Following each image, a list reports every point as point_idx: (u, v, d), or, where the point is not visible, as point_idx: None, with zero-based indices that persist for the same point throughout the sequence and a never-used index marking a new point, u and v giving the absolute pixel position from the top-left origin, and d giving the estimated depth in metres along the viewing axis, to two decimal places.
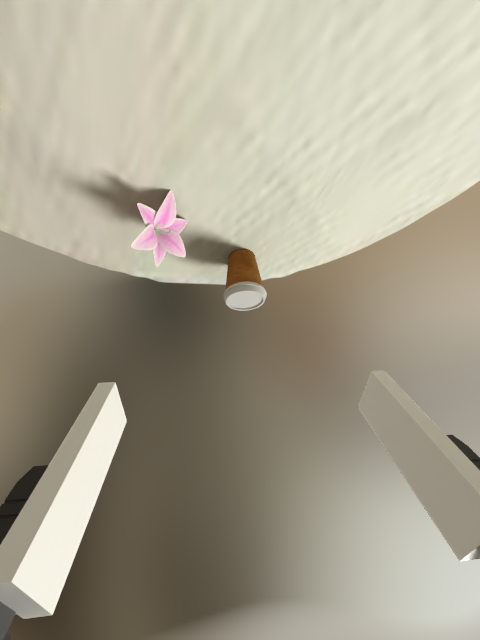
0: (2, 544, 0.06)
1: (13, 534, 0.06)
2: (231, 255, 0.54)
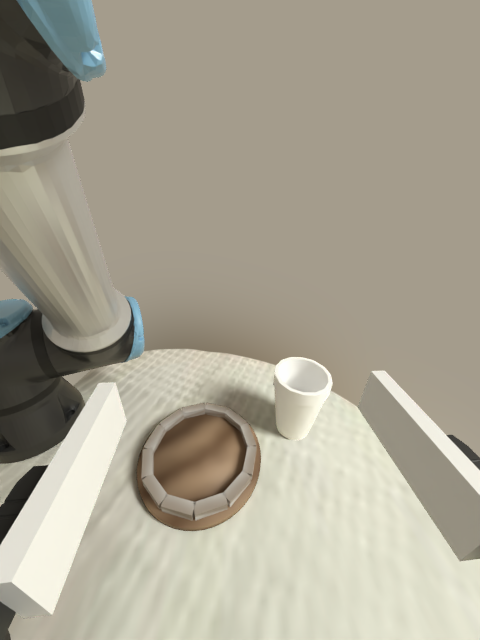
0: (2, 544, 0.06)
1: (13, 534, 0.06)
2: None
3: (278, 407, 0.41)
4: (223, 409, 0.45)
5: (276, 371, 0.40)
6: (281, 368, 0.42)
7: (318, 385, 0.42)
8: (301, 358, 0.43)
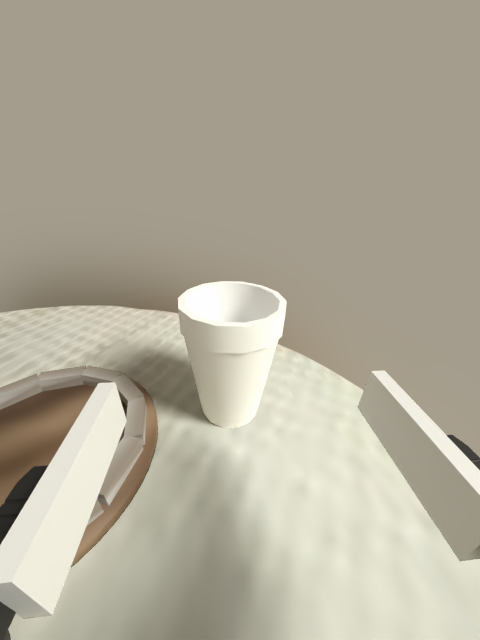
0: (2, 544, 0.06)
1: (13, 534, 0.06)
2: None
3: (191, 365, 0.22)
4: (112, 376, 0.27)
5: (183, 295, 0.21)
6: (202, 297, 0.23)
7: None
8: (241, 283, 0.24)
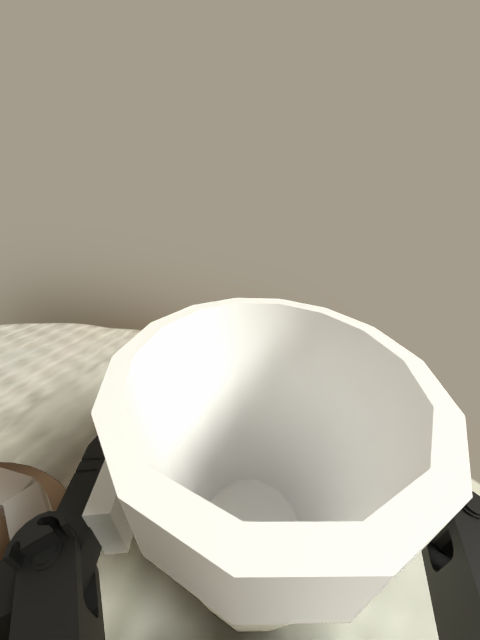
0: (94, 487, 0.07)
1: (101, 480, 0.07)
2: None
3: None
4: (10, 489, 0.13)
5: (132, 344, 0.08)
6: (188, 337, 0.10)
7: (346, 412, 0.10)
8: (275, 301, 0.11)
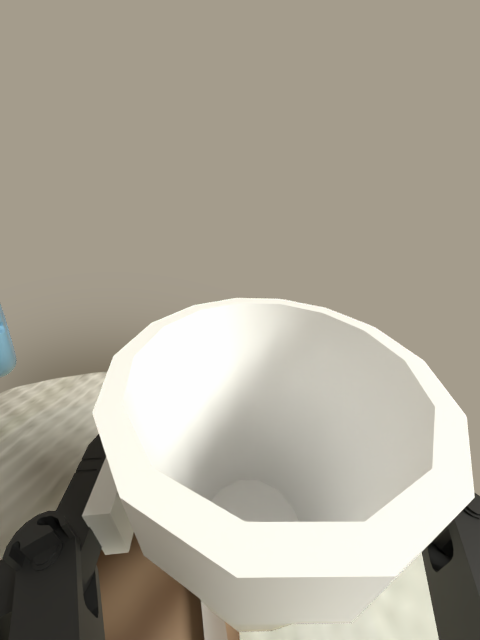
0: (94, 487, 0.07)
1: (101, 480, 0.07)
2: None
3: None
4: None
5: (133, 344, 0.08)
6: (189, 337, 0.10)
7: (347, 413, 0.10)
8: (276, 302, 0.11)
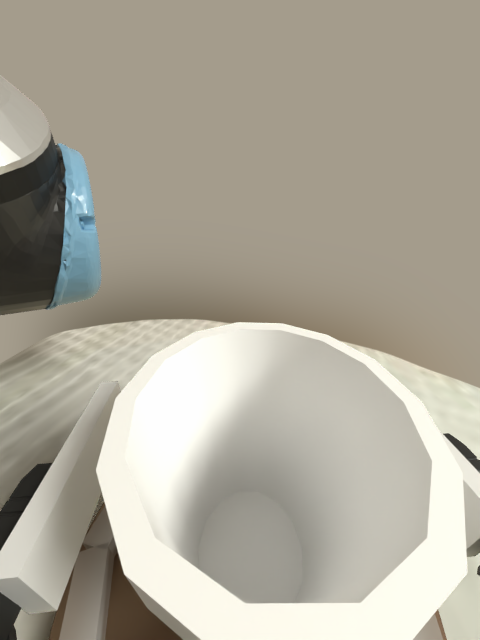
0: (8, 540, 0.06)
1: (18, 530, 0.06)
2: None
3: None
4: None
5: (135, 383, 0.08)
6: (190, 366, 0.10)
7: (346, 441, 0.10)
8: (277, 327, 0.11)
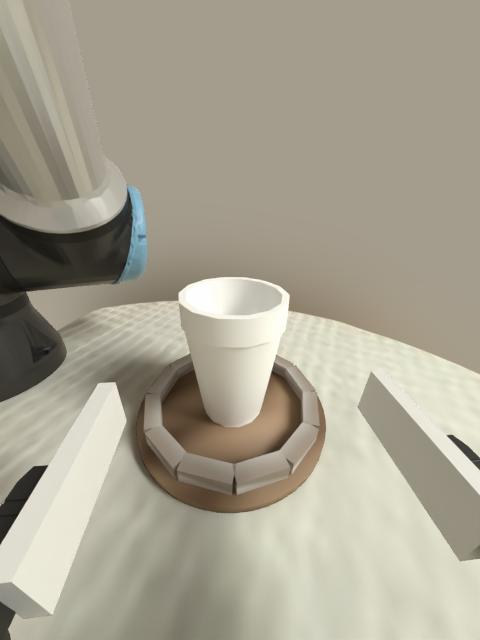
0: (2, 544, 0.06)
1: (13, 534, 0.06)
2: None
3: (193, 363, 0.22)
4: None
5: (184, 290, 0.21)
6: (203, 292, 0.23)
7: None
8: (242, 278, 0.24)
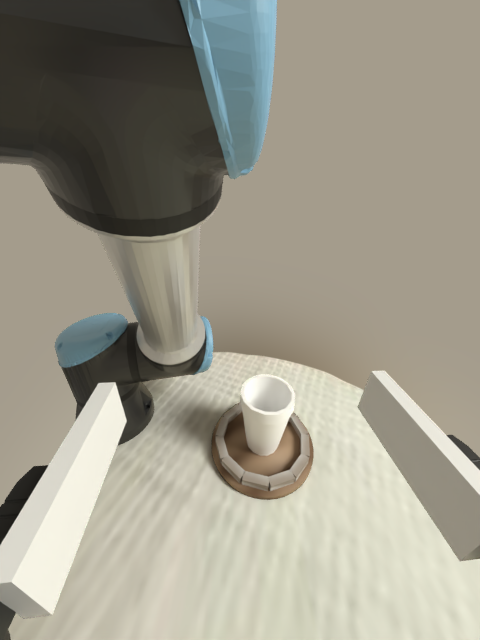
0: (2, 544, 0.06)
1: (13, 534, 0.06)
2: None
3: (245, 424, 0.42)
4: None
5: (242, 389, 0.41)
6: (249, 385, 0.43)
7: (285, 403, 0.43)
8: (269, 375, 0.45)
